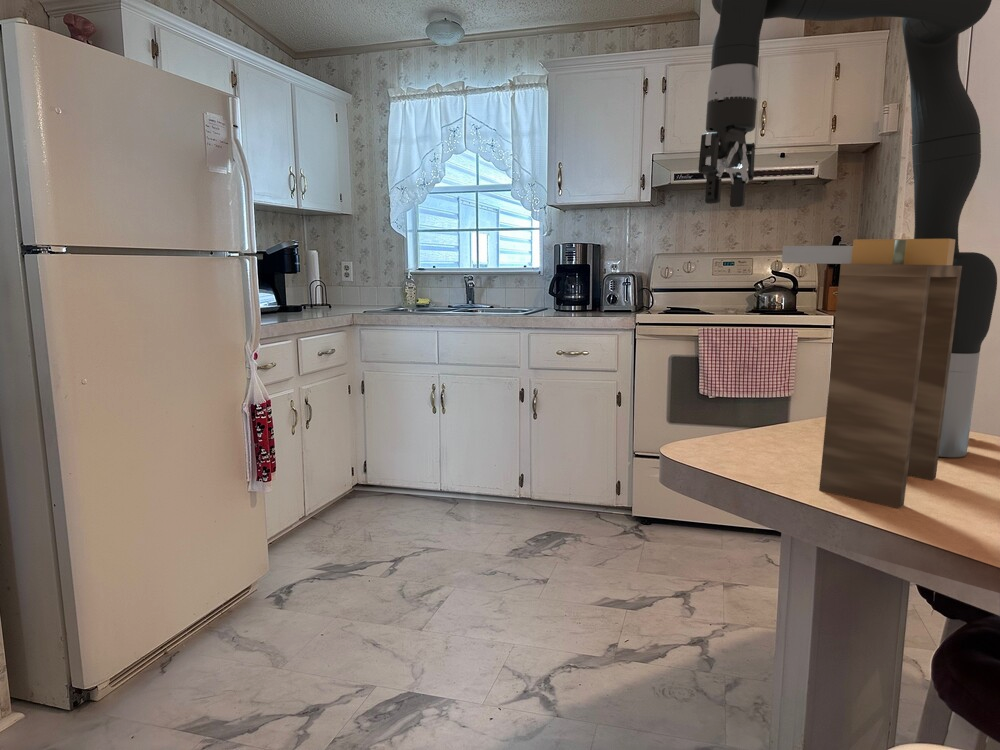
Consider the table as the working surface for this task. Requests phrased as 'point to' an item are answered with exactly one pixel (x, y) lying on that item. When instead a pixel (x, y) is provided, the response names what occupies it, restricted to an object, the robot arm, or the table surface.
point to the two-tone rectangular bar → (874, 252)
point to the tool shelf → (888, 377)
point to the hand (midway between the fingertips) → (724, 205)
